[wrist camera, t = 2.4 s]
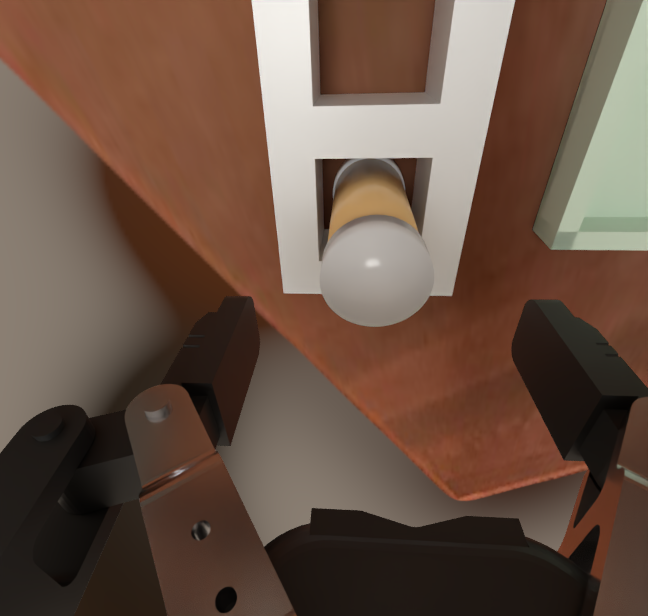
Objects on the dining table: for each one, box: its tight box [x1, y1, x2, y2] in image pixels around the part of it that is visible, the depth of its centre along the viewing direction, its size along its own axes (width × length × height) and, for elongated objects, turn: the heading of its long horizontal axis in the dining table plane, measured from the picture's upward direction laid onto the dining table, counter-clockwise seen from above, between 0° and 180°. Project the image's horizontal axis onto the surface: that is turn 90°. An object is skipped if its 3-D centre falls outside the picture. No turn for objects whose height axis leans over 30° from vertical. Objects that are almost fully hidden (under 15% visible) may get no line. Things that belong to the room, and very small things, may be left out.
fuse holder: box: [252, 0, 515, 296], centre depth 17 cm, size 16×9×4 cm, turn 2°
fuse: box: [320, 158, 434, 327], centre depth 16 cm, size 4×4×10 cm
